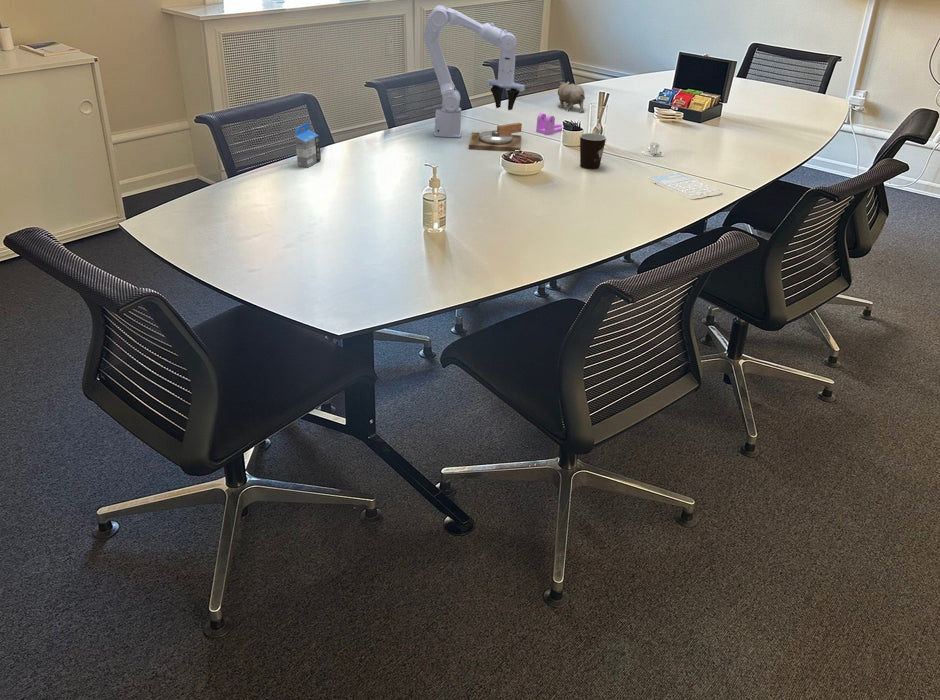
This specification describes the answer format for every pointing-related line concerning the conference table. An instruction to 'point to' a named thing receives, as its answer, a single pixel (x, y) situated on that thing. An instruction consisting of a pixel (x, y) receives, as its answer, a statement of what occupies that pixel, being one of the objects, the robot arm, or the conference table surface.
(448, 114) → the robot arm
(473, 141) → the stand
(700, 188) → the calculator
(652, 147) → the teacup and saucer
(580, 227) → the conference table surface
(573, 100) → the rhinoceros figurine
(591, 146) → the coffee mug
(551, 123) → the bracket
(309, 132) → the label tape box
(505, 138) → the dial
